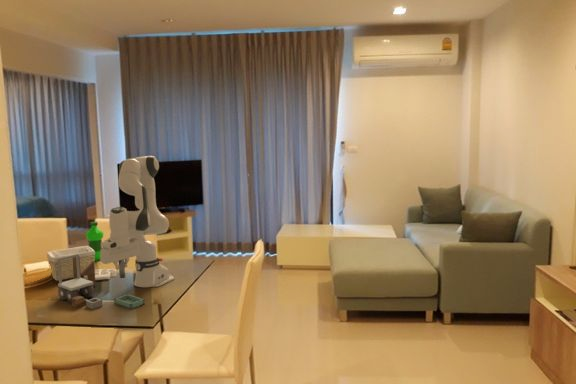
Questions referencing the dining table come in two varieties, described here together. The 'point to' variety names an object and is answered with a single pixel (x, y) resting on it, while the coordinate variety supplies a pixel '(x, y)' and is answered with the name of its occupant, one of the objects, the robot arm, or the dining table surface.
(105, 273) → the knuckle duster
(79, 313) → the dining table surface
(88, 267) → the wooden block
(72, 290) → the trolley
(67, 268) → the storage basket
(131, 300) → the tray
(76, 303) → the block
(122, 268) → the pin
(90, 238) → the plastic bottle
